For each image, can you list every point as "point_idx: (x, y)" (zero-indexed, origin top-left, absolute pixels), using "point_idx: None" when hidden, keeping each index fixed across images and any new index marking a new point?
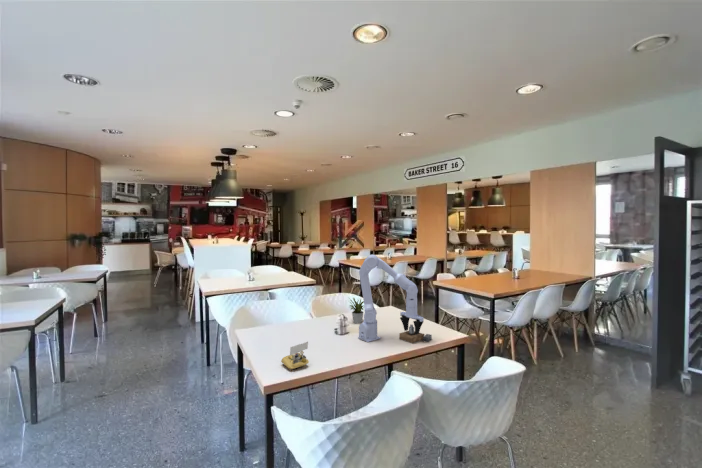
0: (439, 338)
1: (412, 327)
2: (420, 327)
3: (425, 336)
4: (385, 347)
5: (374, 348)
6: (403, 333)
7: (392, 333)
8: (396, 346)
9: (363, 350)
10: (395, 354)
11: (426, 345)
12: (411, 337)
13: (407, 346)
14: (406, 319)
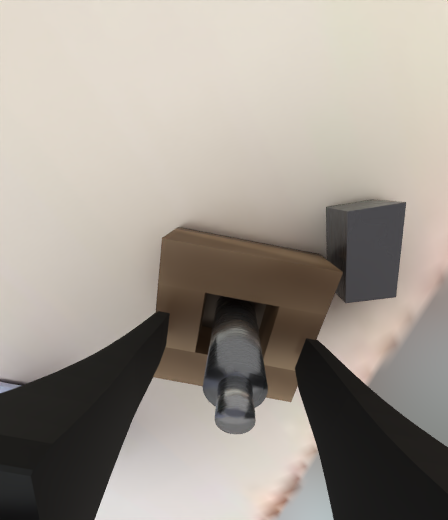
0: (441, 119)
1: (252, 394)
2: (378, 401)
3: (361, 287)
4: (195, 464)
5: (167, 489)
6: (176, 361)
7: (45, 278)
8: (229, 434)
9: (151, 516)
10: (282, 496)
11: (378, 340)
12: (282, 399)
13: (279, 409)
14: (90, 476)
